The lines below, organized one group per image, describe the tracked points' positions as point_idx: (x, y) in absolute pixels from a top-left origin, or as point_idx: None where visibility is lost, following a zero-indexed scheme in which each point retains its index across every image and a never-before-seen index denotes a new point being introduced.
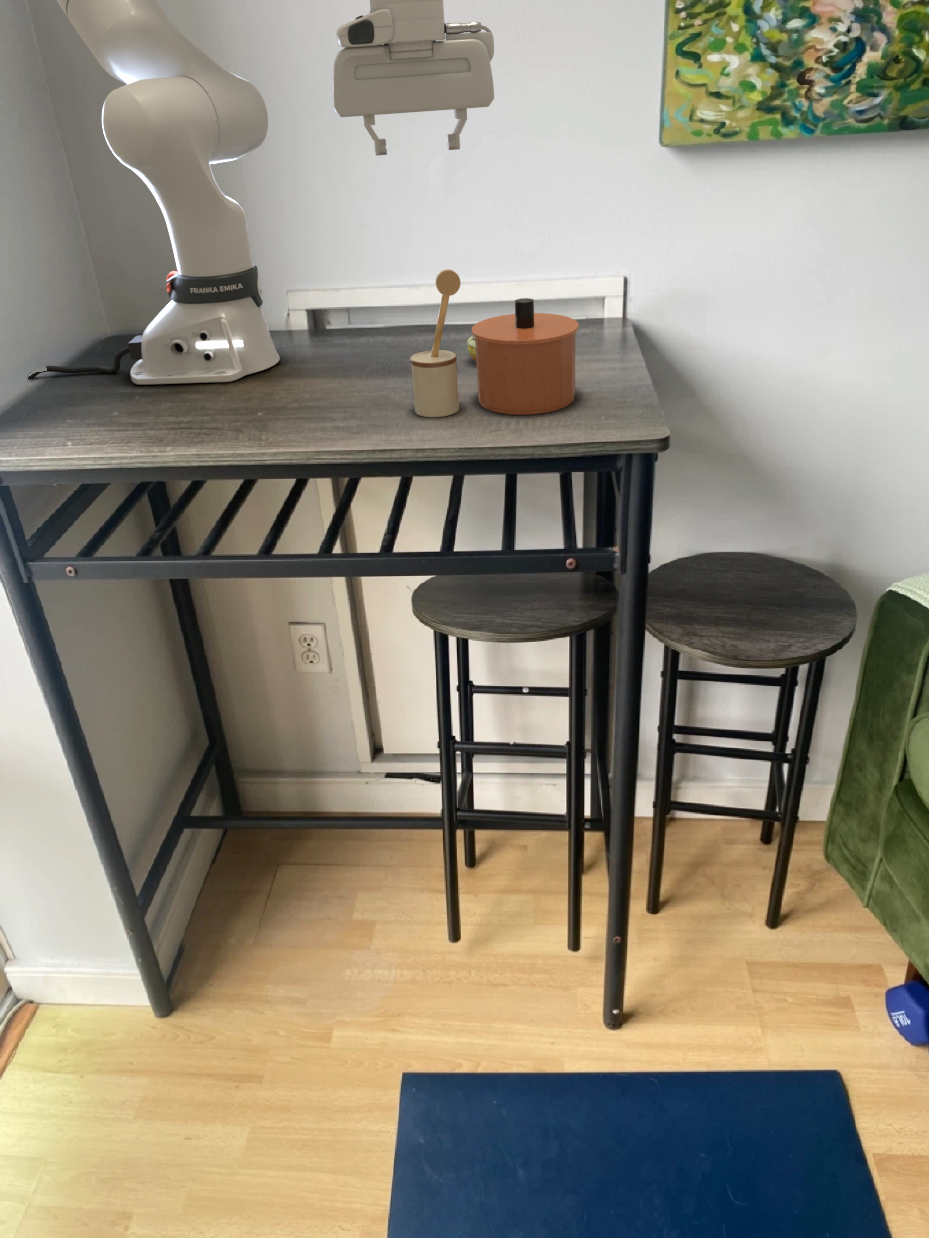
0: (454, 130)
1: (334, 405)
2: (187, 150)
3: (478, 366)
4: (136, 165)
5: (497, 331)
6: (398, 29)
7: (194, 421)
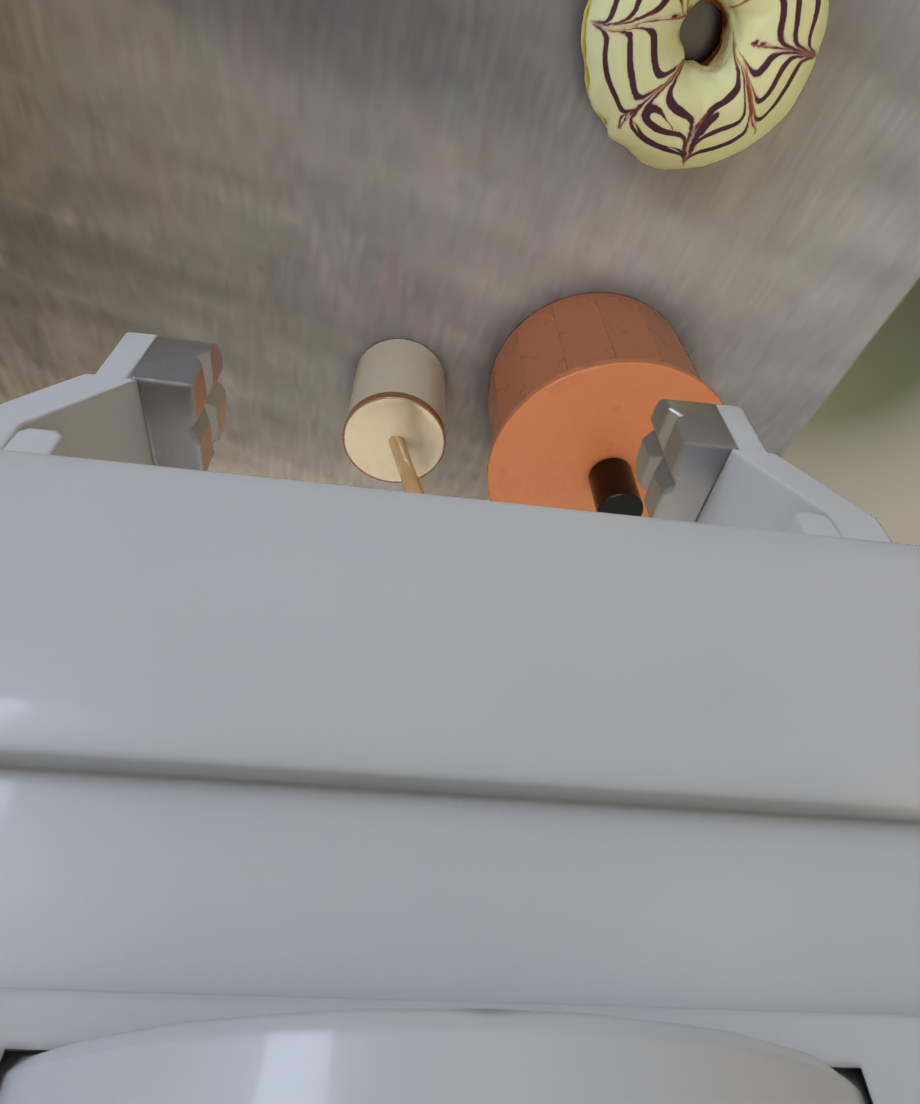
0: (739, 480)
1: (173, 261)
2: None
3: (491, 433)
4: None
5: (538, 489)
6: None
7: None
